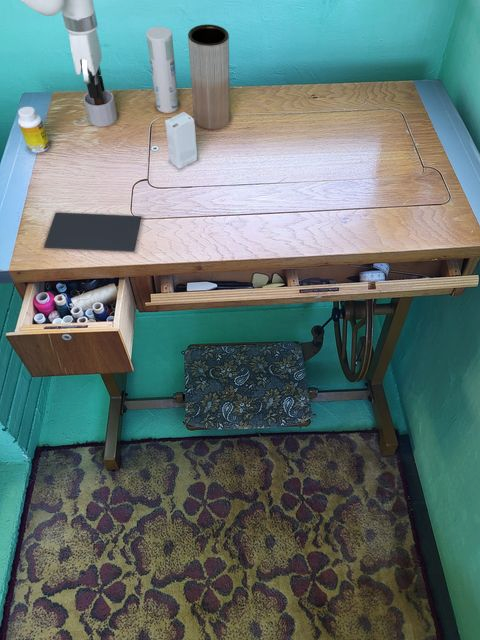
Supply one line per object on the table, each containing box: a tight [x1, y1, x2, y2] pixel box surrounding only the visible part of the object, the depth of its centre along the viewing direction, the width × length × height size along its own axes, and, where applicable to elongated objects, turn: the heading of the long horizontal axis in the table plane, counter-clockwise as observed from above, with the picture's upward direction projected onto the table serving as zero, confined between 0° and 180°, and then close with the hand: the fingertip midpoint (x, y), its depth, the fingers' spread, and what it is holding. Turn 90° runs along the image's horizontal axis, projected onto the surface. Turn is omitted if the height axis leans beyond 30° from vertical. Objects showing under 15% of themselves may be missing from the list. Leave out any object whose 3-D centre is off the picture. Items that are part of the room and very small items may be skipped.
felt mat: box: [43, 212, 142, 253], centre depth 121 cm, size 20×11×1 cm, turn 89°
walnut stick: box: [89, 73, 105, 105], centre depth 139 cm, size 3×3×12 cm
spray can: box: [145, 26, 179, 114], centre depth 141 cm, size 6×6×20 cm
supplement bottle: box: [17, 106, 50, 154], centre depth 133 cm, size 6×6×10 cm
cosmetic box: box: [164, 111, 198, 170], centre depth 131 cm, size 6×4×12 cm
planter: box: [187, 23, 231, 130], centre depth 137 cm, size 10×10×23 cm
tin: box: [82, 89, 118, 128], centre depth 142 cm, size 8×8×6 cm
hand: (97, 93), depth 139 cm, fingers closed on walnut stick, 2 cm apart
